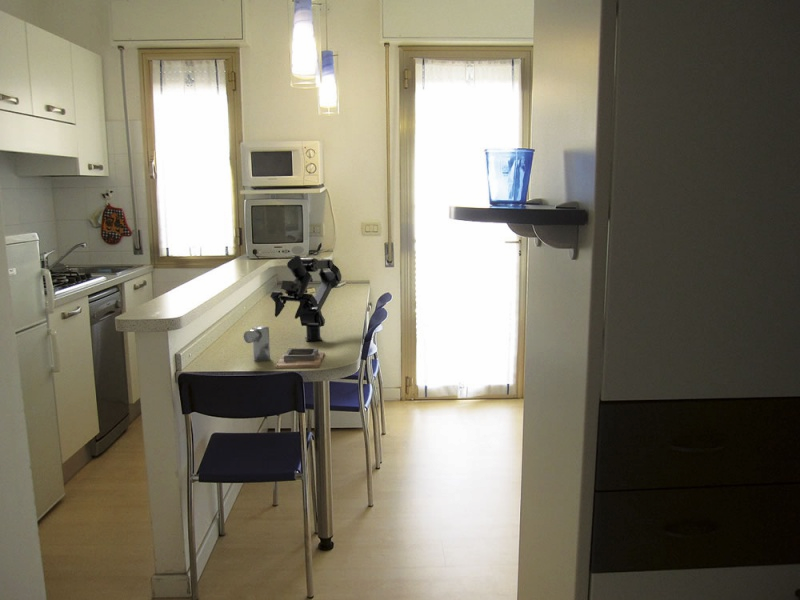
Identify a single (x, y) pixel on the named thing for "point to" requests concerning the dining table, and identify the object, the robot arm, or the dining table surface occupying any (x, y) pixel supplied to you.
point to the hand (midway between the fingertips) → (285, 317)
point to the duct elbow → (259, 342)
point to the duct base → (301, 358)
